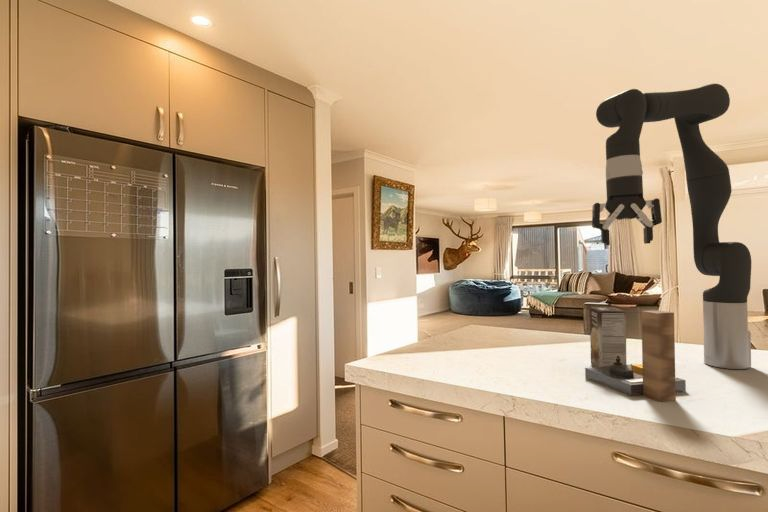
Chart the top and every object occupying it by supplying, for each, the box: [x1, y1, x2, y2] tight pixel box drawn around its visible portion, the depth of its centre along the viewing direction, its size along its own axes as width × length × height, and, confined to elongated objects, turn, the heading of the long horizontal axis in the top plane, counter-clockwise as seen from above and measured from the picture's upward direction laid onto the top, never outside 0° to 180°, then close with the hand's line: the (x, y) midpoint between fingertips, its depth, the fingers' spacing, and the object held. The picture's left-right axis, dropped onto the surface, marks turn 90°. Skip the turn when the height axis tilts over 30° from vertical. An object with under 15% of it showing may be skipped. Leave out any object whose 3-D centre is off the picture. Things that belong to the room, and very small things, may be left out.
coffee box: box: [589, 306, 627, 367], centre depth 107 cm, size 9×6×16 cm
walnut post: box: [641, 309, 677, 403], centre depth 85 cm, size 4×4×18 cm
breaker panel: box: [584, 363, 687, 397], centre depth 94 cm, size 14×14×4 cm
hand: (626, 244), depth 97 cm, fingers open, 8 cm apart
